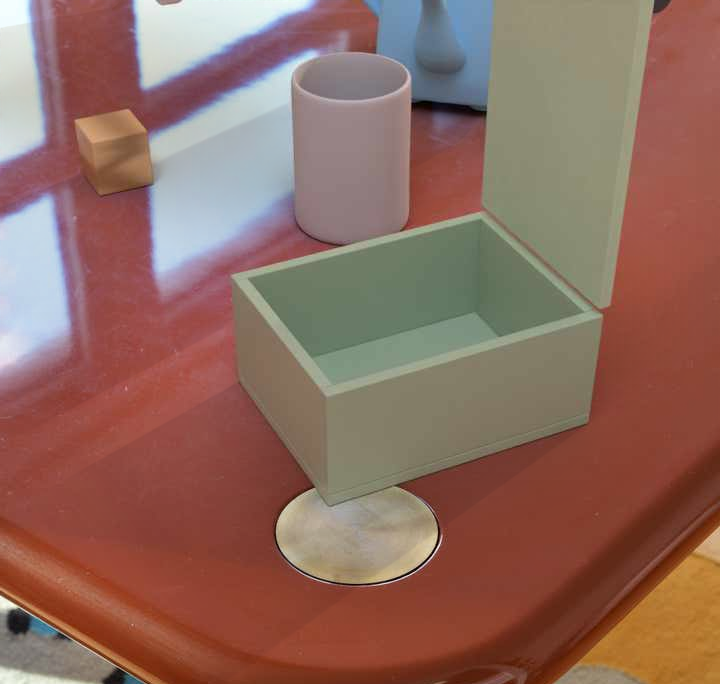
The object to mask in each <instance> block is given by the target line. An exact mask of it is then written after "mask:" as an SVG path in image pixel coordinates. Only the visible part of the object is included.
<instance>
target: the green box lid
mask: <svg viewBox="0 0 720 684" xmlns="http://www.w3.org/2000/svg"><path fill="white" fill-rule="evenodd" d="M671 2H672V0H494V11H493V26H492V42H491V57H490V73H489V88H488V104H487V111H486V119H485V121H486V122H485V138H484V149H483V151H484V153H483V169H482V183H481V197H480V198H481V199H480V205H481V206H482V207H483V208H484V209H485V211H487V212H488V213H489V214H490V215H491V216H492V217H493V218H495V219H496V220H497V221H498V222H499V223H500V224H501V225H502V226H504V227H505V228H506V229H507V230H508V231H509V232H510V233H511V234H513V235H514V236H515V237H516V238H517V239H518V240H519V241H520V242H522V243H523V244H524V245H525V246H526V247H527V248H528V249H529V250H531V251H532V252H533V253H534V254H535V255H536V256H537V257H539V258H540V259H541V260H542V261H543V262H544V263H545V264H546V265H548V266H549V267H550V268H551V269H552V270H553V271H554V272H555V273H557V274H558V275H559V276H560V277H561V278H562V279H563V280H564V281H566V282H567V283H568V284H569V285H570V286H571V287H572V288H574V289H575V290H576V291H577V292H578V293H579V294H580V295H581V296H583V297H584V298H585V299H586V300H587V301H588V302H589V303H590V304H592V305H593V306H594V307H595V308H596V309H597V310H603V309H606V308H609V307H611V305H612V297H613V291H614V283H615V277H616V272H617V271H616V270H617V263H618V256H619V249H620V242H621V235H622V227H623V222H624V221H623V220H624V215H625V207H626V202H627V201H626V200H627V194H628V186H629V178H630V174H631V173H630V172H631V165H632V160H633V159H632V158H633V152H634V145H635V138H636V129H637V124H638V118H639V110H640V104H641V97H642V96H641V95H642V89H643V83H644V74H645V68H646V60H647V55H648V47H649V41H650V35H651V34H650V33H651V26H652V20H653V19H652V18H653V15H655V14H659V13H661V12H662V11H664V10H665V9H666V8H667V7H668V6H669V5H670V4H671Z"/></svg>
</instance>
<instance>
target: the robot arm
mask: <svg viewBox="0 0 720 684" xmlns="http://www.w3.org/2000/svg"><path fill="white" fill-rule="evenodd" d="M182 1H183V0H155V2H157V4H159V5H160V6H167V5H168V6H170V5H176V4H179V3H181V2H182Z"/></svg>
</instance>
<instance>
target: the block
mask: <svg viewBox="0 0 720 684" xmlns="http://www.w3.org/2000/svg"><path fill="white" fill-rule="evenodd" d="M74 128H75V133H76V139H77V145H78V146H77V147H78V152H79V159H80V165H81V172H82V174H83V175H84V177H86V179H87V181H88V182H89V184H90V185H91V186H92V187H93V189H94V190H95V192H96V193H97V195H98V196H99V197H103V196H108V195H111V194H116V193H120V192H125V191H128V190H132V189H137V188H141V187H142V188H143V187H146V186H151V185H154V177H153V168H152V167H153V166H152V161H151V160H152V159H151V151H150V143H149V133H148V130H147V129H146V128H145V127H144V125H143V124H142V123H141V122H140V121H139V119H137V117H136V115H134V113H133V112H132V111H131V110H130V109H129V108H125V109H120V110H115V111H111V112H106V113H101V114H96V115H91V116H86V117H82V118H76V119H74Z"/></svg>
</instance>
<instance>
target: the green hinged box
mask: <svg viewBox="0 0 720 684" xmlns="http://www.w3.org/2000/svg"><path fill="white" fill-rule="evenodd" d="M230 287H231V300H232V301H231V302H232V313H233V314H232V316H233V325H234V326H233V327H234V338H235V350H236V351H235V354H236V364H237V365H236V366H237V377H238V379H237V381H238V383H240V385H241V386H242V388H243V389H244V391H245V392H246V394H248V396H249V398H250V399H251V400H252V402H253V403H254V404H255V406H256V407H257V409H258V410H259V411H260V413H261V414H262V415H263V417H264V418H265V419H266V421H267V422H268V424H269V425H270V427H271V429H273V430H274V432H275V433H276V435H277V436H278V437H279V439H280V441H281V442H282V443H283V445H284V446H285V448H286V449H287V450H288V451H289V453H290V454H291V455H292V457H293V459H294V460H295V461H296V462H297V464H298V465H299V467H300V468H301V470H302V471H303V472H304V473H305V475H306V476H307V478H308V479H309V480H310V482H311V483H312V484H313V487H314V488H315V489H316V490H317V492H318V493H319V495H320V496H321V497H322V499H323V500H324V502H325V503H326V504H327V506H329V507H330V506H331V507H332V506H335V505H338V504H340V503H343V502H347V501H349V500H350V501H351V500H353V499H356V498H359V497H362V496H365V495H366V496H367V495H369V494H371V493H375V492H378V491H381V490H384V489H387V488H391V487H393V486H398V485H400V484H403V483H407V482H410V481H412V480H416V479H418V478H422V477H425V476H428V475H431V474H434V473H437V472H440V471H443V470H446V469H447V470H448V469H449V468H453V467H456V466H459V465H462V464H465V463H469V462H471V461H474V460H478V459H481V458H484V457H487V456H490V455H494V454H497V453H499V452H502V451H505V450H510V449H512V448H515V447H519V446H521V445H524V444H528V443H530V442H533V441H537V440H540V439H543V438H547V437H550V436H552V435H556V434H559V433H562V432H565V431H568V430H571V429H575V428H577V427H581V426H584V425H587V424H589V421H590V415H591V413H590V412H591V407H592V398H593V392H594V384H595V378H596V372H597V364H598V356H599V349H600V343H601V335H602V329H603V320H604V315H603V313H601V312H600V311H599V309H597V307H596V306H595V305H594V304H592V303H591V302H590V301H589V300H588V299H587V298H586V297H585V296H583V295H582V294H581V293H580V292H579V291H578V290H577V289H576V288H574V287H573V286H572V285H571V284H570V283H569V282H568V281H567V280H565V279H564V278H563V277H562V276H561V275H560V274H559V273H557V272H556V271H555V270H554V269H553V268H552V267H551V266H550V265H548V264H547V263H546V262H545V261H544V260H543V259H542V258H541V257H539V256H538V255H537V254H536V253H535V252H534V251H533V250H532V249H530V248H529V247H528V246H527V245H526V244H525V243H524V242H523V241H521V240H520V239H519V238H518V237H517V236H516V235H515V234H514V233H512V232H511V231H510V230H509V229H508V228H507V227H506V226H505V225H503V224H502V223H501V222H500V221H499V220H498V219H497V218H496V217H494V216H493V215H492V214H491V213H490V212H489V211H487V210H481V211H478V212H473V213H470V214H469V213H468V214H466V215H465V214H464V215H462V216H458V217H453V218H449V219H446V220H442V221H438V222H434V223H430V224H426V225H422V226H419V227H414V228H411V229H407V230H403V231H402V230H401V231H400V232H398V233H394V234H390V235H386V236H382V237H378V238H374V239H371V240H367V241H363V242H359V243H355V244H351V245H342V246H339V247H336V248H331V249H327V250H322V251H320V252H315V253H311V254H308V255H304V256H300V257H296V258H292V259H288V260H283V261H279V262H276V263H272V264H268V265H264V266H260V267H256V268H252V269H248V270H245V271H241V272H236V273H233V274H230Z"/></svg>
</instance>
